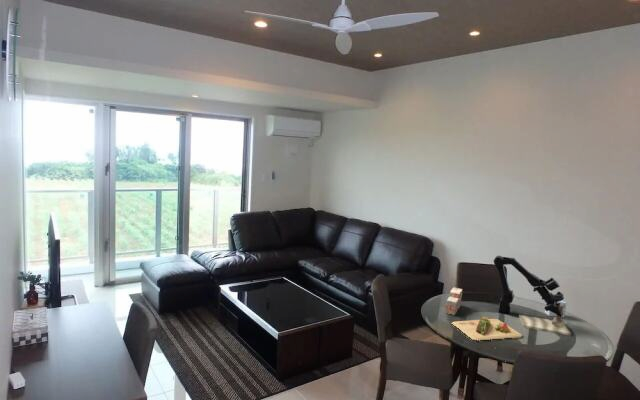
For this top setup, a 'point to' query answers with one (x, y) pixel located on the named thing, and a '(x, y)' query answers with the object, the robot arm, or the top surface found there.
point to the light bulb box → (562, 303)
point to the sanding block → (559, 318)
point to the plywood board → (543, 325)
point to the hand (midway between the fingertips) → (562, 315)
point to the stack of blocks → (454, 301)
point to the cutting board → (486, 329)
